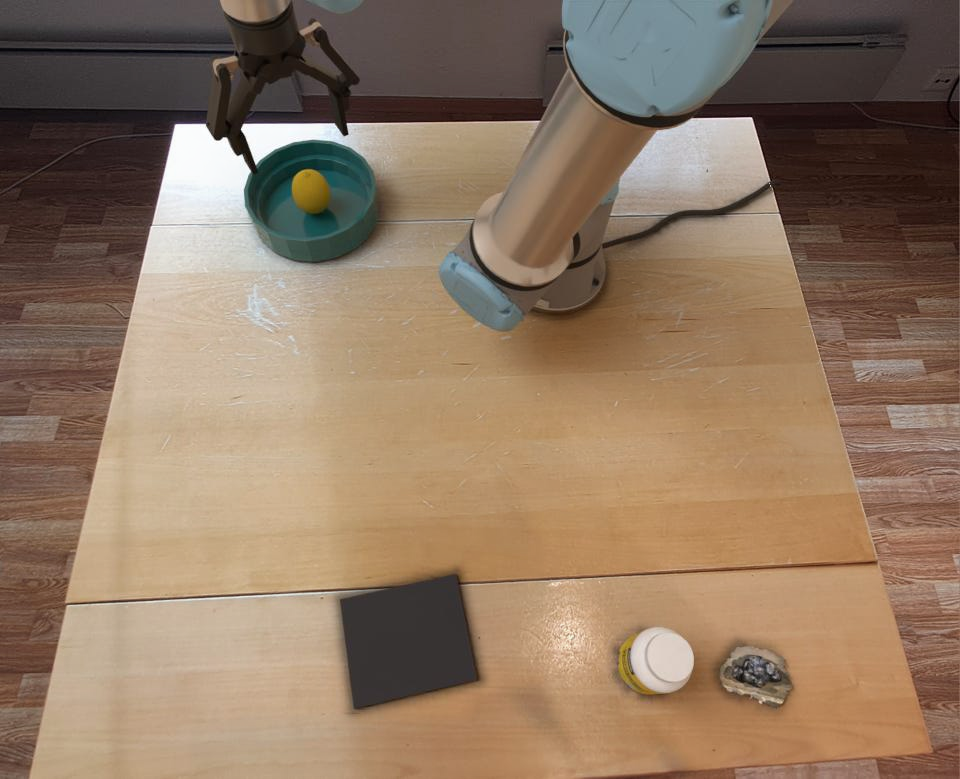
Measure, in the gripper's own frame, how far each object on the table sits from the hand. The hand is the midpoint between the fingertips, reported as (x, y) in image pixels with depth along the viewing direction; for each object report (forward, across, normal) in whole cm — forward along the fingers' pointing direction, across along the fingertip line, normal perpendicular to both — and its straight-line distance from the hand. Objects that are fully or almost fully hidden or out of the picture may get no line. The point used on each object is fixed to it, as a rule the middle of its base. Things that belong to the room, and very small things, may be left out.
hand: (297, 148), depth 94 cm
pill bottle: (+13, -2, +79) cm, 80 cm away
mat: (+13, +19, +62) cm, 66 cm away
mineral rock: (+12, -12, +87) cm, 88 cm away
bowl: (+13, 0, 0) cm, 13 cm away
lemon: (+13, 0, 0) cm, 13 cm away
